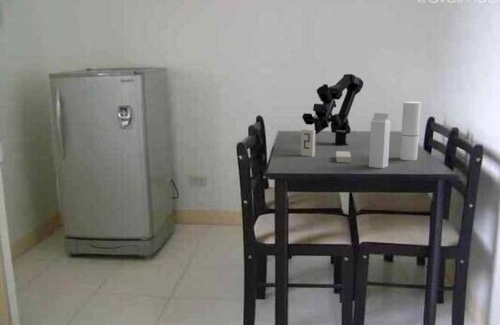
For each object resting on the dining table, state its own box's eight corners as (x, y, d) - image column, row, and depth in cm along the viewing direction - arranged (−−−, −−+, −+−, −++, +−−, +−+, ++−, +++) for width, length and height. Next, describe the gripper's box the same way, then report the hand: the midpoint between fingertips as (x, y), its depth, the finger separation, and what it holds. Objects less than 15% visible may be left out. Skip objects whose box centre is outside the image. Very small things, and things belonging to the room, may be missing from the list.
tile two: (303, 154, 220) (304, 129, 218) (314, 155, 217) (315, 130, 214) (300, 155, 218) (301, 129, 215) (312, 156, 215) (312, 130, 212)
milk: (374, 164, 198) (376, 112, 194) (388, 166, 195) (391, 113, 190) (368, 166, 194) (371, 113, 189) (382, 168, 190) (385, 114, 185)
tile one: (336, 151, 213) (336, 156, 201) (349, 151, 212) (351, 156, 201) (336, 156, 214) (336, 162, 202) (349, 157, 213) (350, 162, 201)
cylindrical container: (417, 157, 210) (421, 101, 205) (416, 161, 204) (420, 103, 198) (401, 156, 213) (404, 101, 208) (399, 159, 207) (402, 102, 201)
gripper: (304, 96, 227) (292, 121, 220) (339, 98, 216) (328, 124, 210) (311, 111, 235) (300, 136, 228) (346, 113, 224) (335, 139, 217)
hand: (315, 133), depth 221 cm, fingers closed
